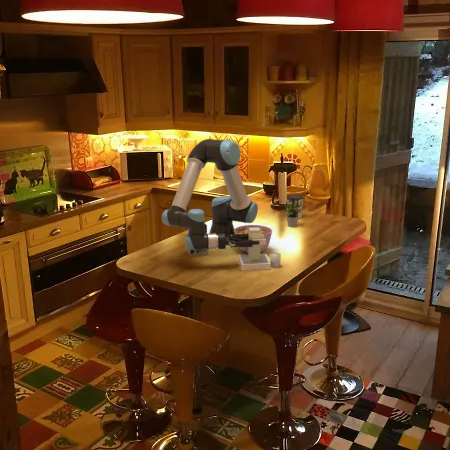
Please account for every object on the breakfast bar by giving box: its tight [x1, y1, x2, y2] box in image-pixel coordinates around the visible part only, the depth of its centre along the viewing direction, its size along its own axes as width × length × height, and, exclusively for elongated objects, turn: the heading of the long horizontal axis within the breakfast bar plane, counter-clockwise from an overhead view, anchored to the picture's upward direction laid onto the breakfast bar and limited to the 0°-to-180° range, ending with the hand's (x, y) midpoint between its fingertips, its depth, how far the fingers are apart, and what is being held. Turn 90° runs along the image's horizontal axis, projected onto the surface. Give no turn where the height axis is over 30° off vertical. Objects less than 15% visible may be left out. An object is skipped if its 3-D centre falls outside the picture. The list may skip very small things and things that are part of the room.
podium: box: [238, 253, 272, 272], centre depth 263 cm, size 14×14×3 cm
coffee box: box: [187, 222, 208, 257], centre depth 277 cm, size 9×6×16 cm
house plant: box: [282, 200, 304, 228], centre depth 322 cm, size 14×14×16 cm
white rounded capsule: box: [269, 252, 282, 269], centre depth 261 cm, size 5×5×6 cm
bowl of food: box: [234, 224, 273, 254], centre depth 281 cm, size 20×20×12 cm
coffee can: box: [286, 193, 304, 220], centre depth 342 cm, size 10×10×14 cm
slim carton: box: [247, 227, 261, 260], centre depth 260 cm, size 5×5×15 cm
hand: (264, 239), depth 260 cm, fingers open, 6 cm apart
